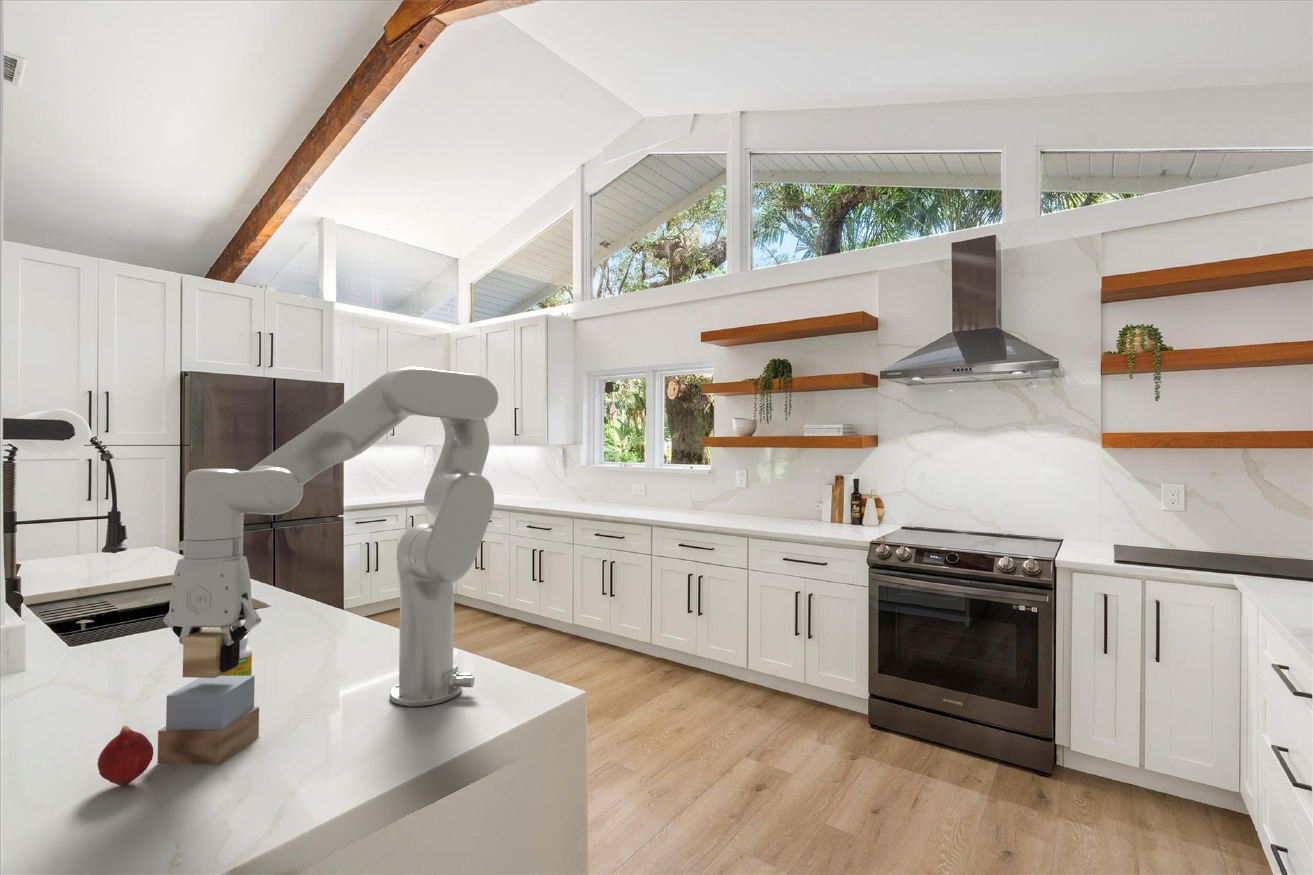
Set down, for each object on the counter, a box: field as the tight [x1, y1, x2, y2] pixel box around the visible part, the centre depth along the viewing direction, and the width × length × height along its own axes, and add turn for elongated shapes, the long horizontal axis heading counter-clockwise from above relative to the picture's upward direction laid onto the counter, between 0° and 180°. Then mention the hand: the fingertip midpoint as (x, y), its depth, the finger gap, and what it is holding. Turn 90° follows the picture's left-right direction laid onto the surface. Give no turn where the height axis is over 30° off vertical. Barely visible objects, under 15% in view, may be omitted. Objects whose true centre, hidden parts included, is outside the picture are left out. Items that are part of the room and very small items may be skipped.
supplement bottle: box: [220, 635, 253, 676], centre depth 121 cm, size 5×5×10 cm
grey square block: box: [165, 675, 256, 730], centre depth 98 cm, size 8×8×5 cm
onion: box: [97, 725, 154, 787], centre depth 87 cm, size 6×6×8 cm
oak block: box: [182, 627, 239, 679], centre depth 98 cm, size 5×5×6 cm
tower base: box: [157, 706, 260, 766], centre depth 97 cm, size 9×9×5 cm
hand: (211, 667), depth 98 cm, fingers closed on oak block, 5 cm apart
